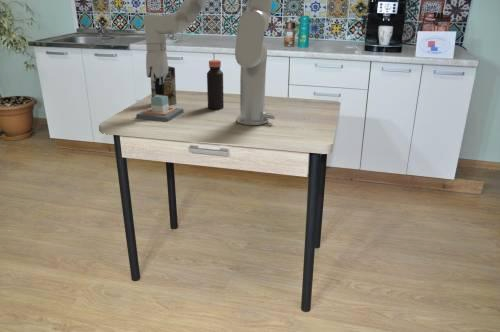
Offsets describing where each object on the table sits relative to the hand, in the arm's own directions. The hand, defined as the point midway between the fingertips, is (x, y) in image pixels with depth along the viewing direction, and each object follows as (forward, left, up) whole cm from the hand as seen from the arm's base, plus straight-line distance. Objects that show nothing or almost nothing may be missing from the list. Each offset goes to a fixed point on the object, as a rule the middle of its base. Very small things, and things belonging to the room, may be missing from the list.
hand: (160, 94), depth 188 cm
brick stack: (0, 0, -7) cm, 7 cm away
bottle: (-17, -18, -9) cm, 26 cm away
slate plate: (0, 0, -9) cm, 9 cm away
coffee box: (+7, -17, -9) cm, 21 cm away
